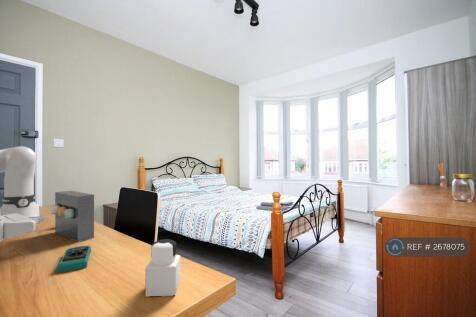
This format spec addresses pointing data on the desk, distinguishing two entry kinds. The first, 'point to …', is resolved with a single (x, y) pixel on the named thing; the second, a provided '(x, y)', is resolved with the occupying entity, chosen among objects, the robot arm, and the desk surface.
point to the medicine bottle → (163, 269)
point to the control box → (83, 219)
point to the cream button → (55, 209)
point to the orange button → (61, 211)
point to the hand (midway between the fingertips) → (42, 218)
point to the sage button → (69, 213)
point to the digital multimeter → (74, 259)
